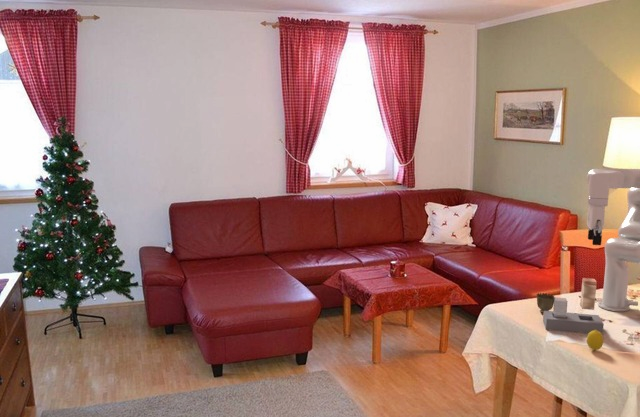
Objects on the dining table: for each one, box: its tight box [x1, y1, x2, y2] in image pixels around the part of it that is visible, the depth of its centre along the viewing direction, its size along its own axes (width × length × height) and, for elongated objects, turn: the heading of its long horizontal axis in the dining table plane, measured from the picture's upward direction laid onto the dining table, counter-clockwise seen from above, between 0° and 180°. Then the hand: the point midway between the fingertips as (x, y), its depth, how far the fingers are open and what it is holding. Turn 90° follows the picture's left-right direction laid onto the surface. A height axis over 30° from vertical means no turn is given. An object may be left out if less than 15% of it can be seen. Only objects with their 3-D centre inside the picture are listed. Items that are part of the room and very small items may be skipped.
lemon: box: [586, 330, 604, 352], centre depth 215 cm, size 6×6×8 cm
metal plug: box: [552, 296, 568, 319], centre depth 237 cm, size 4×4×12 cm
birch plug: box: [579, 277, 598, 311], centre depth 233 cm, size 4×4×12 cm
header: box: [542, 310, 604, 336], centre depth 237 cm, size 21×10×5 cm, turn 76°
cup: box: [536, 292, 555, 314], centre depth 255 cm, size 8×7×8 cm
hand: (594, 242), depth 243 cm, fingers open, 9 cm apart
